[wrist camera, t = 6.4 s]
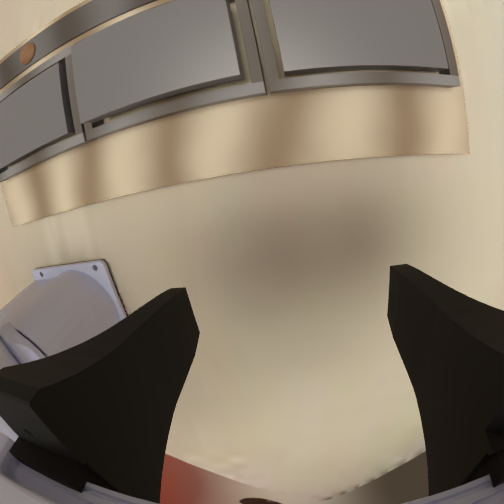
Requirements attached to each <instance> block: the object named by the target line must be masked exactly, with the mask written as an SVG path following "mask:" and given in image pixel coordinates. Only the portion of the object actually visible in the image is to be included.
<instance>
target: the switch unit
mask: <svg viewBox="0 0 504 504" xmlns="http://www.w3.org/2000/svg"><path fill="white" fill-rule="evenodd" d="M173 1H176V0H85V1H83V2H82V3H80V4H78V5H76V6H75V7H73V8H71V9H70V10H68V11H66V12H65V13H63V14H62V15H60V16H59V17H57V18H55V19H54V20H52V21H51V22H49V23H48V24H47V25H45V26H44V27H42V28H41V29H39V30H38V31H37V32H35V33H34V34H32V35H31V36H30V37H28V38H27V39H26V40H25V41H23V42H22V43H21V44H19V45H18V46H17V47H16V48H14V49H13V50H12V51H11V52H10V53H8V54H7V55H6V56H5V57H4V58H3V59H1V60H0V103H1V102H2V101H3V100H4V99H6V98H7V97H8V96H10V95H11V94H12V93H14V92H15V91H16V90H18V89H19V88H20V87H22V86H23V85H24V84H26V83H27V82H29V81H30V80H32V79H33V78H35V77H36V76H38V75H39V74H41V73H42V72H44V71H45V70H47V69H48V68H50V67H52V66H53V65H55V64H56V63H65V64H66V74H67V82H68V90H69V98H70V104H71V111H72V117H73V123H74V128H75V134H74V135H72V136H69V137H67V138H65V139H63V140H61V141H58V142H56V143H54V144H52V145H50V146H48V147H46V148H44V149H42V150H40V151H38V152H36V153H34V154H32V155H30V156H28V157H26V158H25V159H23V160H21V161H19V162H17V163H15V164H14V165H12V166H10V167H8V168H6V169H3V170H0V182H1V186H2V190H3V194H4V198H5V202H6V205H7V209H8V212H9V216H10V219H11V222H12V226H13V227H15V226H18V225H21V224H24V223H27V222H30V221H34V220H37V219H40V218H43V217H46V216H50V215H53V214H57V213H60V212H63V211H67V210H70V209H74V208H78V207H81V206H85V205H89V204H92V203H96V202H100V201H104V200H108V199H112V198H116V197H120V196H124V195H129V194H133V193H137V192H142V191H146V190H150V189H155V188H160V187H164V186H169V185H174V184H179V183H184V182H189V181H194V180H200V179H205V178H211V177H216V176H222V175H228V174H234V173H240V172H246V171H253V170H260V169H267V168H274V167H281V166H289V165H297V164H305V163H314V162H323V161H333V160H343V159H354V158H367V157H381V156H397V155H419V154H470V152H469V135H468V123H467V113H466V105H465V97H464V90H463V84H462V78H461V72H460V67H459V62H458V57H457V53H456V48H455V44H454V40H453V36H452V32H451V28H450V25H449V21H448V18H447V15H446V11H445V8H444V5H443V2H442V0H431V2H432V5H433V8H434V12H435V15H436V18H437V22H438V25H439V29H440V33H441V37H442V41H443V45H444V49H445V54H446V58H447V63H448V68H449V69H446V70H442V71H439V72H432V71H415V70H347V71H330V72H318V73H307V74H298V75H289V76H284V71H283V65H282V60H281V55H280V51H279V46H278V41H277V36H276V32H275V27H274V23H273V18H272V14H271V10H270V5H269V1H268V0H229V3H230V8H231V13H232V18H233V22H234V27H235V32H236V37H237V42H238V48H239V53H240V58H241V63H242V68H243V73H244V79H242V80H237V81H232V82H227V83H222V84H218V85H213V86H209V87H205V88H201V89H197V90H193V91H189V92H185V93H181V94H178V95H174V96H171V97H167V98H164V99H160V100H157V101H154V102H151V103H148V104H145V105H142V106H139V107H136V108H133V109H130V110H127V111H124V112H121V113H119V114H116V115H113V116H111V117H108V118H105V119H103V120H100V121H98V122H95V123H84V124H81V123H80V117H79V111H78V105H77V98H76V91H75V84H74V76H73V66H72V56H71V46H73V45H75V44H77V43H78V42H80V41H82V40H84V39H86V38H88V37H90V36H91V35H93V34H95V33H97V32H99V31H101V30H103V29H105V28H108V27H110V26H112V25H114V24H116V23H118V22H121V21H123V20H125V19H127V18H130V17H132V16H135V15H137V14H140V13H142V12H145V11H147V10H150V9H153V8H155V7H158V6H161V5H164V4H167V3H170V2H173Z"/></svg>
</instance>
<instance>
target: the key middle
mask: <svg viewBox="0 0 504 504" xmlns="http://www.w3.org/2000/svg"><path fill="white" fill-rule="evenodd" d="M71 56H72V66H73V76H74V84H75V91H76V98H77V105H78V111H79V117H80V123H81V124H84V123H95V122H98V121H100V120H103V119H105V118H108V117H111V116H113V115H116V114H119V113H121V112H124V111H127V110H130V109H133V108H136V107H139V106H142V105H145V104H148V103H151V102H154V101H157V100H160V99H164V98H167V97H171V96H174V95H178V94H181V93H185V92H189V91H193V90H197V89H201V88H205V87H209V86H213V85H218V84H222V83H227V82H232V81H237V80H242V79H244V73H243V68H242V63H241V58H240V53H239V48H238V42H237V37H236V32H235V27H234V22H233V18H232V13H231V8H230V3H229V0H176V1H173V2H170V3H167V4H164V5H161V6H158V7H155V8H153V9H150V10H147V11H145V12H142V13H140V14H137V15H135V16H132V17H130V18H127V19H125V20H123V21H121V22H118V23H116V24H114V25H112V26H110V27H108V28H105V29H103V30H101V31H99V32H97V33H95V34H93V35H91V36H90V37H88V38H86V39H84V40H82V41H80V42H78V43H77V44H75V45H73V46H71Z"/></svg>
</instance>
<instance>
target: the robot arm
mask: <svg viewBox="0 0 504 504" xmlns="http://www.w3.org/2000/svg"><path fill="white" fill-rule="evenodd" d="M95 265H96V266H97V268H98V269H97V268H96V267H95ZM32 274H33V277H34V279H35V281H34V282H33V283H32V284H31V285H29V286H28V287H27V288H26V289H25V290H23V291H22V292H21V293H20V294H19V295H17V296H16V297H15V298H14V299H13V300H11V301H10V302H9V303H8V304H7V305H6V306H4V307H3V308H2V309H1V310H0V504H160V490H161V478H162V470H163V463H164V456H165V450H166V445H167V440H168V435H169V430H170V426H171V422H172V417H173V413H174V410H175V407H176V404H177V401H178V398H179V396H180V393H181V390H182V388H183V385H184V383H185V380H186V377H187V375H188V372H189V370H190V367H191V364H192V362H193V359H194V356H195V352H196V348H197V344H198V339H199V334H200V332H199V329H198V326H197V323H196V320H195V317H194V313H193V310H192V307H191V304H190V301H189V298H188V294H187V291H186V288H172V289H169V290H167V291H165V292H163V293H161V294H160V295H158V296H157V297H155V298H154V299H152V300H151V301H149V302H148V303H146V304H145V305H143V306H142V307H140V308H139V309H138V310H136V311H135V312H133V313H132V314H130V315H129V316H126V313H125V311H124V309H123V306H122V304H121V301H120V299H119V296H118V294H117V291H116V289H115V286H114V283H113V281H112V278H111V275H110V273H109V270H108V267H107V265H106V263H105V262H104V261H103V260H95V261H87V262H80V263H73V264H65V265H58V266H51V267H44V268H37V269H34V270H33V271H32ZM387 316H388V320H389V324H390V327H391V331H392V334H393V338H394V341H395V343H396V346H397V348H398V350H399V353H400V355H401V358H402V360H403V363H404V365H405V368H406V370H407V373H408V375H409V378H410V380H411V383H412V386H413V388H414V392H415V395H416V398H417V403H418V407H419V412H420V416H421V421H422V427H423V433H424V439H425V446H426V455H427V465H428V481H429V482H428V483H429V496H428V497H425V498H421V499H417V500H414V501H410V502H406V503H401V504H504V311H503V310H500V309H497V308H494V307H492V306H489V305H487V304H484V303H482V302H479V301H477V300H474V299H472V298H470V297H468V296H466V295H464V294H462V293H460V292H458V291H456V290H454V289H452V288H450V287H448V286H447V285H445V284H443V283H441V282H439V281H438V280H436V279H434V278H432V277H431V276H429V275H427V274H425V273H424V272H422V271H420V270H418V269H416V268H414V267H412V266H410V265H408V264H403V265H395V266H390V282H389V300H388V314H387Z"/></svg>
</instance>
